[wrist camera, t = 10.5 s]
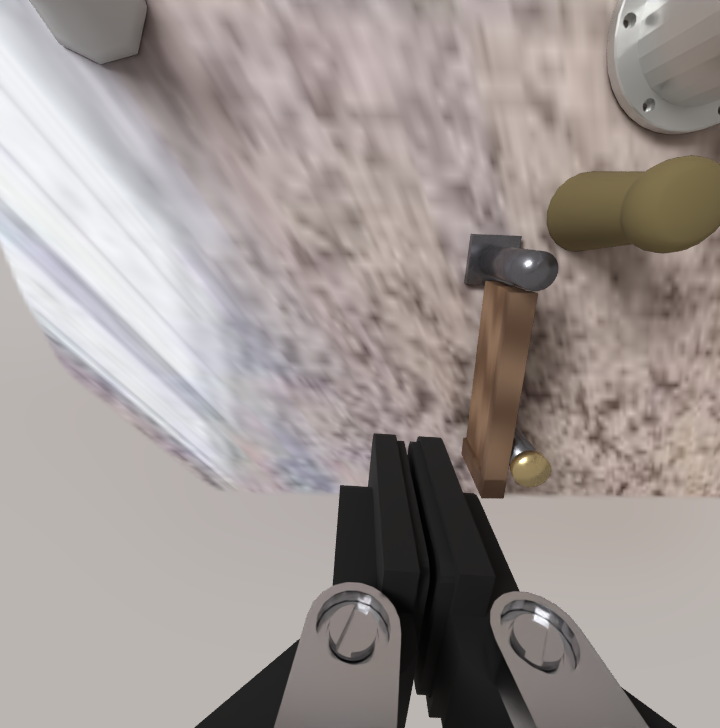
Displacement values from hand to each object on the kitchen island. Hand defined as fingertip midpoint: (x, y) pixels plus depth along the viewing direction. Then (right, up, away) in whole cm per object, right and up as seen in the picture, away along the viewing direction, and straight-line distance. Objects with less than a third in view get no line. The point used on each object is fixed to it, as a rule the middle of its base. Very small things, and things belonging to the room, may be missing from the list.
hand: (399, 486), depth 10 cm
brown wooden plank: (+10, +2, +25) cm, 27 cm away
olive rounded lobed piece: (+17, +15, +21) cm, 32 cm away
